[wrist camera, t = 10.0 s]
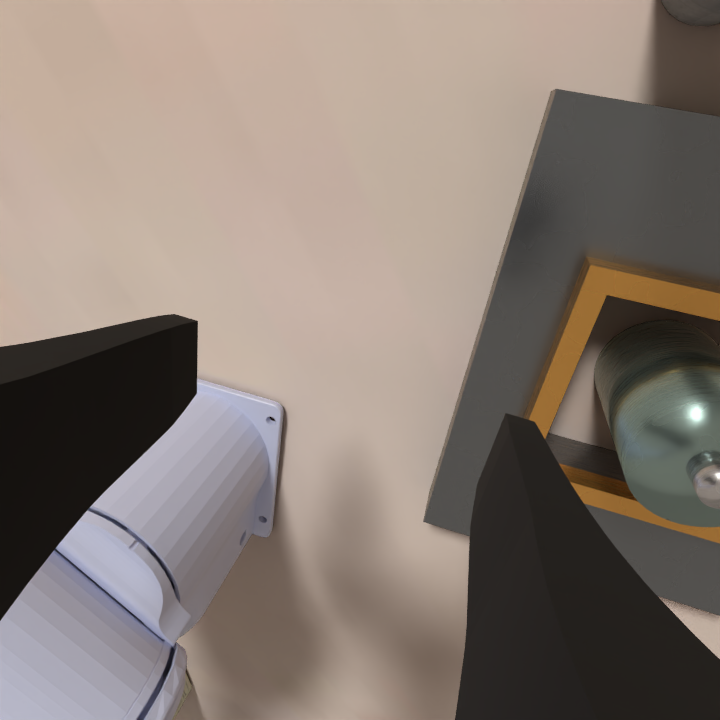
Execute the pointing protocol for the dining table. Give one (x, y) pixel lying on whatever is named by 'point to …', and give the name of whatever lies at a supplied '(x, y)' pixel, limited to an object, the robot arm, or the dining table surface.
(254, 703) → the dining table surface
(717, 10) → the hip flask
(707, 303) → the grey square hole board
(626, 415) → the spout can
